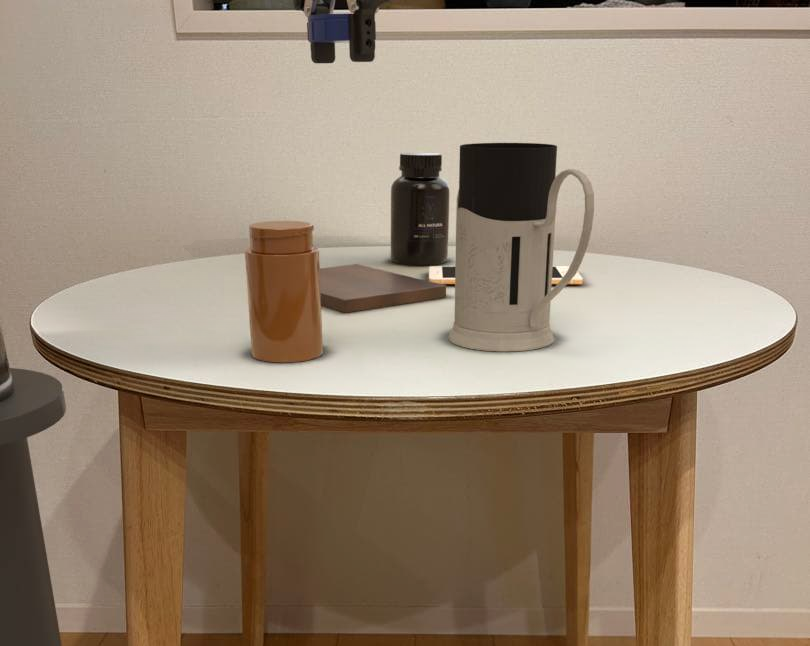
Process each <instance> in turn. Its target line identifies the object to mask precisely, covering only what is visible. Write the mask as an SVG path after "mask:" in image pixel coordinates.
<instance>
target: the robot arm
mask: <svg viewBox="0 0 810 646" xmlns="http://www.w3.org/2000/svg"><path fill="white" fill-rule="evenodd" d="M292 2H293V6H294V7H293V8H294V9H295V11H300V12H301V11H302V12H303V13H304V16H305V17H306V18H308V16H309V15H318V14H334V10H335V5H336V0H292ZM390 2H391V0H346V3H347V7H348V10H349V13H348V14H349V15H348V17H349V43H348V45H349V48H348V49H349V59H350V60H351V62H353V63H373V62H374V60H375V57H376V40H375V25H376V20H375V19H376V17H375V16H376V14H377V13H378V12H379V10H380V7H381V6H382V5H383V4H384V5H388V4H389V3H390ZM309 44H310V59H311V61H312V63H313V64H334V63H335V61H336V43H309ZM9 362H10V361H9V358H8V355H7V349H6V343H5V338H4V332H3V324H2V320H1V318H0V401H2V400H4V399H6V398H8V397H9V396H10V395H11V394H12V393H13V392H14V387H13V381H12V375H11V373H10V372H9V368H10V363H9Z"/></svg>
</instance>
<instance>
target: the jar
mask: <svg viewBox="0 0 810 646" xmlns="http://www.w3.org/2000/svg"><path fill="white" fill-rule="evenodd" d="M314 230H315V228H314V225H313V224H312V223H311V222H308V221H307V222H305V221H298V220H273V221H272V220H271V221H260V222H254V223H251V224H250V225H249V226H248V231H249V247H248V248H246V249H245V250H244V262H245V274H246V275H245V276H246V293H247V305H248V306H247V307H248V320H249V322H248V323H249V333H250V334H249V335H250V351H251V356H252V358H254V359H256V360H259V361H262V362H268V363H298V362H305V361H306V362H307V361H311V360H315V359H317V358H319V357H321V356H322V355H323V353H324V345H323V344H324V343H323V341H324V340H323V319H322V305H321V289H320V268H321V265H320V249H319V247H317V246H315V245H314V239H313V231H314Z"/></svg>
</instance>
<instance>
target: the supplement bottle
mask: <svg viewBox="0 0 810 646" xmlns="http://www.w3.org/2000/svg"><path fill="white" fill-rule="evenodd" d="M442 159H443V155H442V154H441V153H435V152H402V153H400V154H399V166H398V167H399V168H398V170H399V171H401V172H400V173H401V174H400V176H399V177H397V178H396V179H395V180H393V182H392V184H391V187H390V259H391V260H392V261H393V262H394V263H395V264H403V265H408V266H409V265H410V266H435V265H440V264H444V263H445V262H446V261H447V260H448V254H449V230H450V229H449V228H450V227H449V225H450V195H451V194H450V193H451V192H450V190H451V189H450V185H449V183H448V182H447V181H446V180H445V179H444V178H443V177H442V176H441V172H442V171H443V166H442V164H443V160H442Z"/></svg>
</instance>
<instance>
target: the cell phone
mask: <svg viewBox="0 0 810 646" xmlns="http://www.w3.org/2000/svg"><path fill="white" fill-rule="evenodd" d="M569 267H570V265H568V266H566V265H564V266H563V265H561V266H560V265H559V266H558V265H556V266H555V265H553V268H552V285H557V284H558V283H559V282H560V280H561V279H562V278H563V277H564V275H565V274H566V273H567V271H568V269H569ZM428 281H430V282H434V283H438V284H442V285H455V265H439V266H437V265H430V266H429V267H428ZM583 281H584V278H583V277H582V275H581V274H580V273H579V270H578V271H577V273H576V274H575V276H574V277H573V278H572V279H571V281H570V282H569V283H568V284H567V285H583Z"/></svg>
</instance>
